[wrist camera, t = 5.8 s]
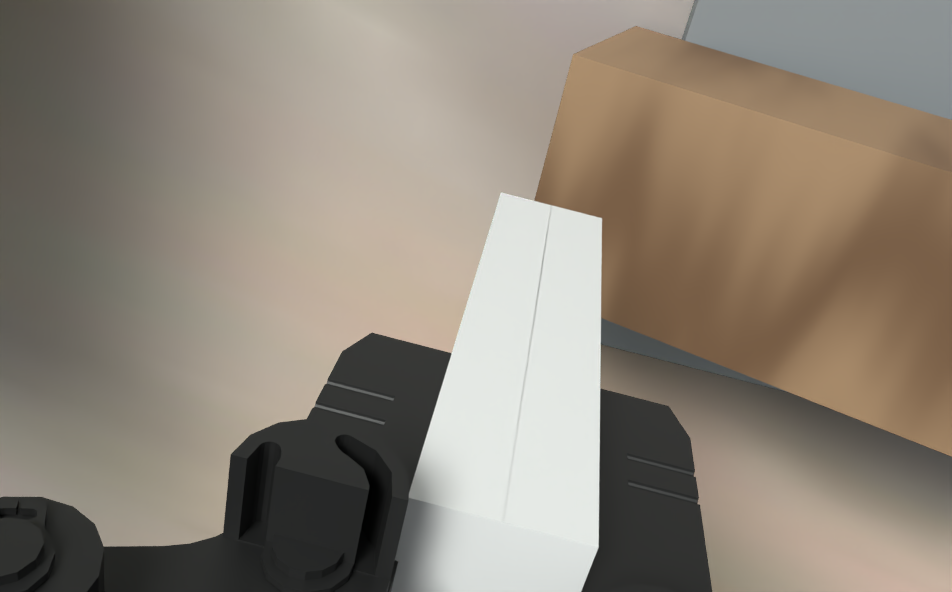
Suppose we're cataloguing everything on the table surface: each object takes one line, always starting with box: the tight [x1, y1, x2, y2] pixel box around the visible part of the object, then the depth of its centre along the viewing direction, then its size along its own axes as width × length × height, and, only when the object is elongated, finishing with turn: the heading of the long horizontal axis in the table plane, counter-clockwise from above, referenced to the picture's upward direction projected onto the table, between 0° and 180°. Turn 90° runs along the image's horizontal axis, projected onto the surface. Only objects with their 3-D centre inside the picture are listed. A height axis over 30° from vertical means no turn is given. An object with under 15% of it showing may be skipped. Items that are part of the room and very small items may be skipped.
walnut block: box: [534, 26, 952, 457], centre depth 18 cm, size 5×5×13 cm
